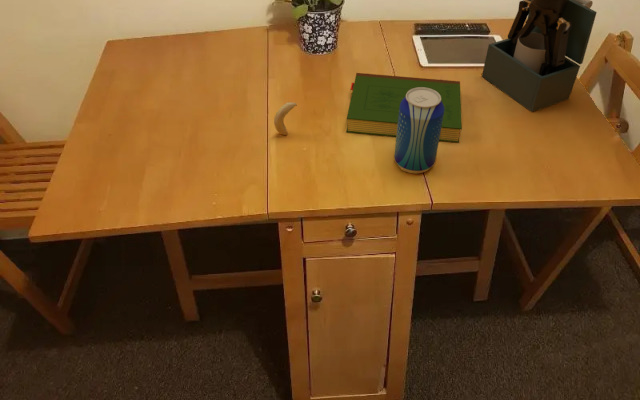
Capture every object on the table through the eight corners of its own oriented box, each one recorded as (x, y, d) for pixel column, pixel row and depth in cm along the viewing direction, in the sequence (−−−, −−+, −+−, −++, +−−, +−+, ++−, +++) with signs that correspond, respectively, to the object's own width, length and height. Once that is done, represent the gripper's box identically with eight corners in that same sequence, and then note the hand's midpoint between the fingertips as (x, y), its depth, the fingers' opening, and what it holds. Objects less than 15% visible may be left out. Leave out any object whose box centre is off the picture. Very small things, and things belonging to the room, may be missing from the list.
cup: (537, 92, 135) (549, 53, 128) (503, 82, 138) (513, 43, 131) (548, 76, 140) (560, 38, 133) (515, 67, 143) (525, 29, 136)
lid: (594, 13, 121) (614, 4, 123) (534, -18, 133) (553, -25, 134) (579, 64, 130) (598, 56, 132) (524, 31, 142) (543, 24, 143)
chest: (531, 112, 133) (541, 78, 127) (481, 76, 144) (488, 44, 138) (568, 99, 137) (580, 65, 131) (517, 65, 148) (525, 33, 142)
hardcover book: (457, 95, 138) (460, 81, 135) (458, 142, 124) (461, 128, 122) (352, 86, 141) (353, 72, 138) (342, 131, 127) (343, 117, 125)
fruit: (269, 130, 126) (270, 135, 125) (278, 100, 120) (280, 106, 119) (286, 131, 127) (288, 137, 126) (296, 102, 121) (298, 107, 120)
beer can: (395, 147, 123) (403, 82, 112) (435, 152, 122) (447, 87, 111) (391, 173, 117) (398, 106, 106) (433, 178, 116) (445, 111, 105)
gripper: (505, -29, 129) (485, 62, 144) (577, 8, 115) (546, 105, 131) (531, -35, 131) (508, 55, 147) (604, 0, 118) (571, 96, 133)
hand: (526, 78), depth 139 cm, fingers closed on cup, 8 cm apart
